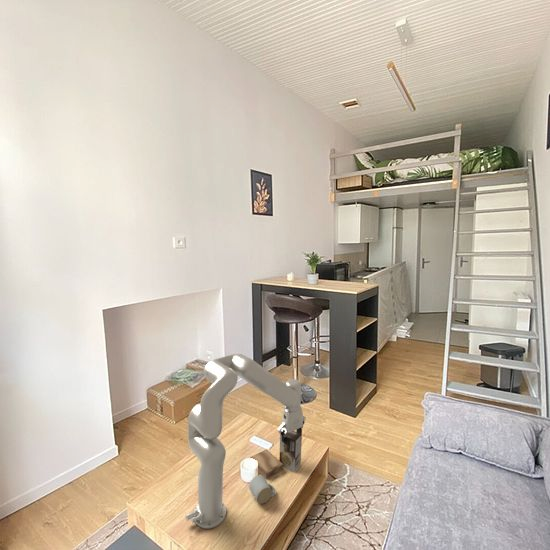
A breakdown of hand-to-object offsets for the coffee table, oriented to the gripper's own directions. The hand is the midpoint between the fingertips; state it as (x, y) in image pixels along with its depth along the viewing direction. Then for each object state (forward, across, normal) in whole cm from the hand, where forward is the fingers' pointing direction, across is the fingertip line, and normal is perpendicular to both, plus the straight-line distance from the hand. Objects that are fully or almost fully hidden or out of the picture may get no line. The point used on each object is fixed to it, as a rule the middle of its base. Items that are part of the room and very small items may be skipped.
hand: (291, 438), depth 150 cm
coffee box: (+14, -1, 0) cm, 14 cm away
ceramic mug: (+13, -22, -7) cm, 27 cm away
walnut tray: (+13, -11, +6) cm, 18 cm away
